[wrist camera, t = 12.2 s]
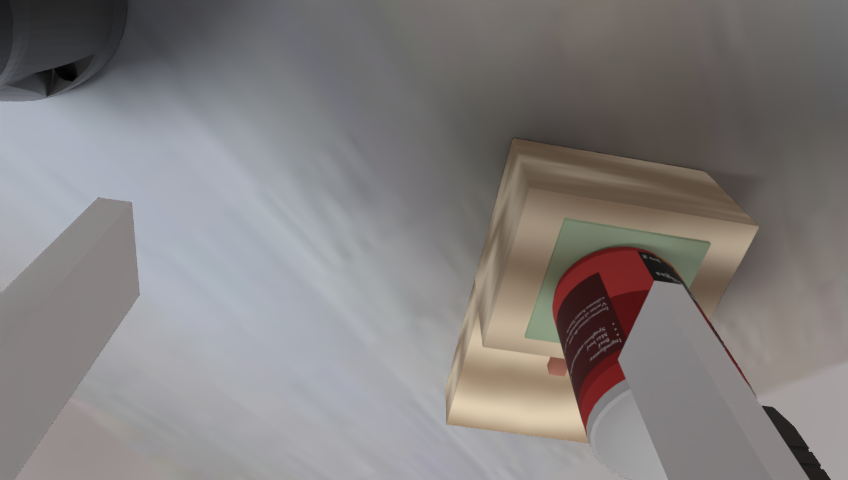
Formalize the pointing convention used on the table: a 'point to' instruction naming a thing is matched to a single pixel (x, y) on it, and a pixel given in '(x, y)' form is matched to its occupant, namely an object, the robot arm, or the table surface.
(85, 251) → the robot arm
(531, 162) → the stand
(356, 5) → the table surface
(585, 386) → the canned food
